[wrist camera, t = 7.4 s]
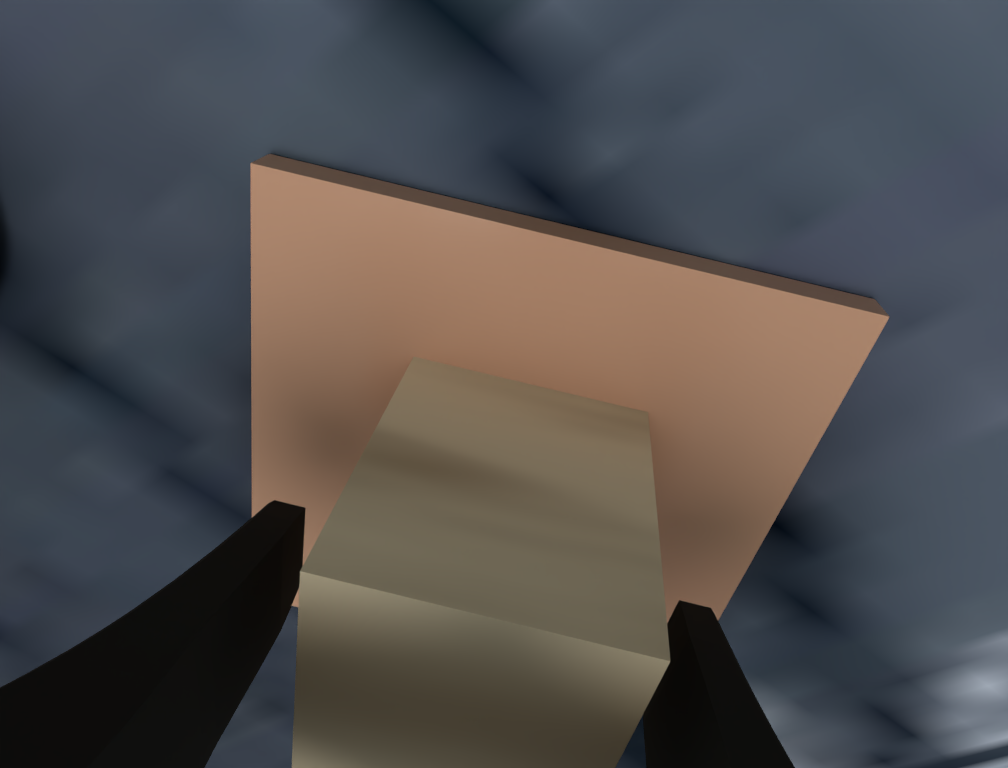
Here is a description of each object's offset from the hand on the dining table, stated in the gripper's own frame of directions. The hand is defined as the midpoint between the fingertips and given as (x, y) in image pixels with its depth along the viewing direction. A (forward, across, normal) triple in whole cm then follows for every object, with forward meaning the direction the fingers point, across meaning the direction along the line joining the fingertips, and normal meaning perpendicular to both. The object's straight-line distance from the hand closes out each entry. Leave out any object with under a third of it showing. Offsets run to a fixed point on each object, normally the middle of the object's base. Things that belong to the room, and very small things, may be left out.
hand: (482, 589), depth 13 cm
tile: (+4, 0, 0) cm, 4 cm away
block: (+3, 0, 0) cm, 3 cm away
